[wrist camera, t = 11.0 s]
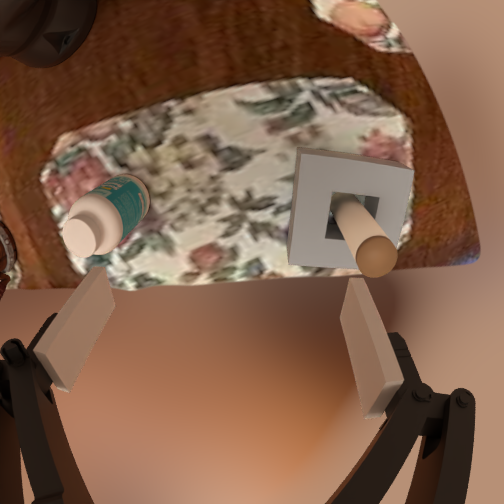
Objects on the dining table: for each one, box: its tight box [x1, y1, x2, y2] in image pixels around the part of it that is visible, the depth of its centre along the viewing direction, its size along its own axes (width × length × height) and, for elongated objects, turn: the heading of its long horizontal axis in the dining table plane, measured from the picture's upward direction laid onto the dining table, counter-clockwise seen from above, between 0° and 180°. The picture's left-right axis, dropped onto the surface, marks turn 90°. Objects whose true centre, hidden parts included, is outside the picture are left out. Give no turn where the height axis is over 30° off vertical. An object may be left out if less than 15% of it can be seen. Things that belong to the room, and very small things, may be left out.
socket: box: [287, 147, 414, 270], centre depth 37 cm, size 14×14×5 cm
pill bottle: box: [63, 174, 150, 258], centre depth 34 cm, size 8×7×14 cm
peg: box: [330, 192, 398, 278], centre depth 33 cm, size 4×4×15 cm
